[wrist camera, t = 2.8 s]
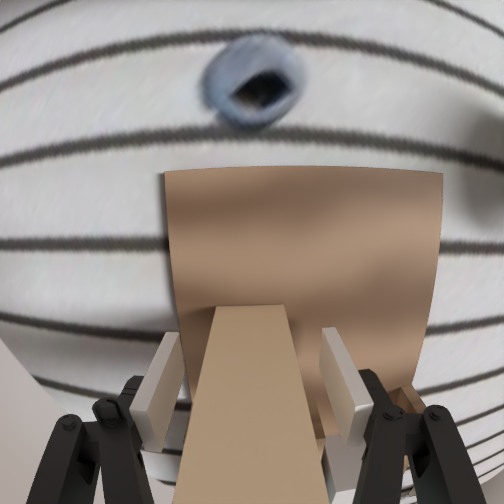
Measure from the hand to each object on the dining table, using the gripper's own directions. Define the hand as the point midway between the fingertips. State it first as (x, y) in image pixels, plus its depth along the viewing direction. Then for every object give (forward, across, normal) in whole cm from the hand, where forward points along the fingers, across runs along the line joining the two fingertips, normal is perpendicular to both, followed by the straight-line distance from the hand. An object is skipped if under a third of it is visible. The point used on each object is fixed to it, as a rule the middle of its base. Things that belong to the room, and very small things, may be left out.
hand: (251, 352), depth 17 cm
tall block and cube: (+2, 0, -7) cm, 7 cm away
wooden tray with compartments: (+3, +4, -5) cm, 7 cm away
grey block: (+3, +8, -13) cm, 16 cm away
